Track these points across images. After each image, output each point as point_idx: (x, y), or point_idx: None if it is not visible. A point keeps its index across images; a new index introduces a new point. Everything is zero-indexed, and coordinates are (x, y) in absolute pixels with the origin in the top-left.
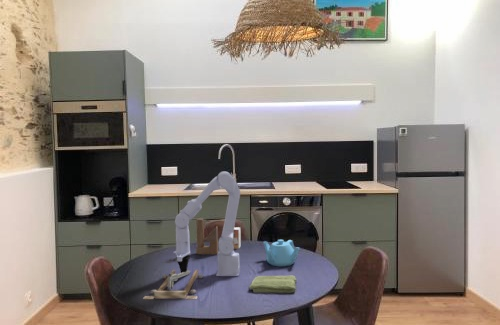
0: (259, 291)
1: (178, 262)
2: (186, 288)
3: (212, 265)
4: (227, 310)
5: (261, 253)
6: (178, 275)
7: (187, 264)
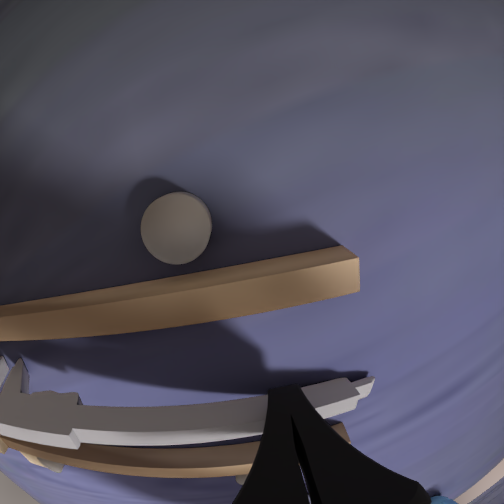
0: None
1: (237, 502)
2: (35, 452)
3: (458, 415)
4: (44, 499)
5: (495, 449)
6: (95, 438)
7: (308, 488)
